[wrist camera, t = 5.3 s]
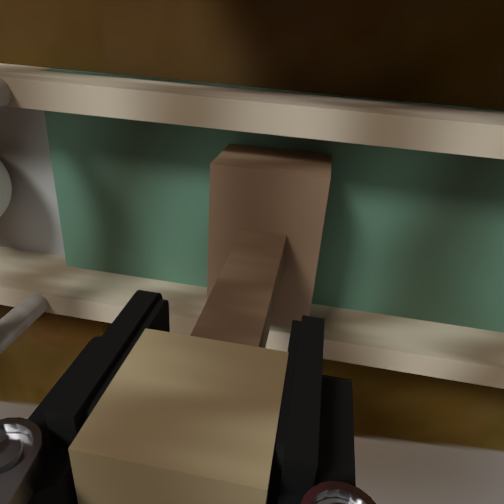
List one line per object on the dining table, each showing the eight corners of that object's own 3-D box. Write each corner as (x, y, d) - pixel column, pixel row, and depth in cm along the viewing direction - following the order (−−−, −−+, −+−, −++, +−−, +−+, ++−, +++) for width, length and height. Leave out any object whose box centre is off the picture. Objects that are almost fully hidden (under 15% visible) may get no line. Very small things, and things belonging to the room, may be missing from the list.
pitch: (621, 121, 16) (822, 188, 9) (523, 342, 20) (611, 491, 14) (-116, 52, 20) (-347, 64, 13) (-58, 252, 24) (-207, 336, 18)
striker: (332, 154, 17) (317, 420, 5) (311, 288, 20) (274, 649, 8) (229, 143, 17) (18, 365, 6) (223, 275, 20) (73, 599, 9)
